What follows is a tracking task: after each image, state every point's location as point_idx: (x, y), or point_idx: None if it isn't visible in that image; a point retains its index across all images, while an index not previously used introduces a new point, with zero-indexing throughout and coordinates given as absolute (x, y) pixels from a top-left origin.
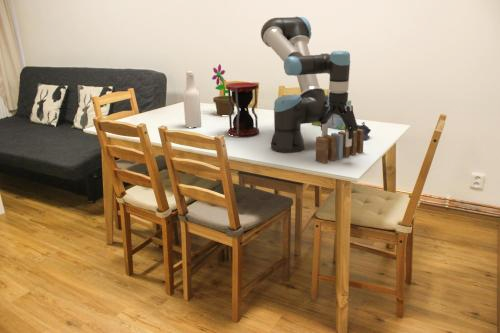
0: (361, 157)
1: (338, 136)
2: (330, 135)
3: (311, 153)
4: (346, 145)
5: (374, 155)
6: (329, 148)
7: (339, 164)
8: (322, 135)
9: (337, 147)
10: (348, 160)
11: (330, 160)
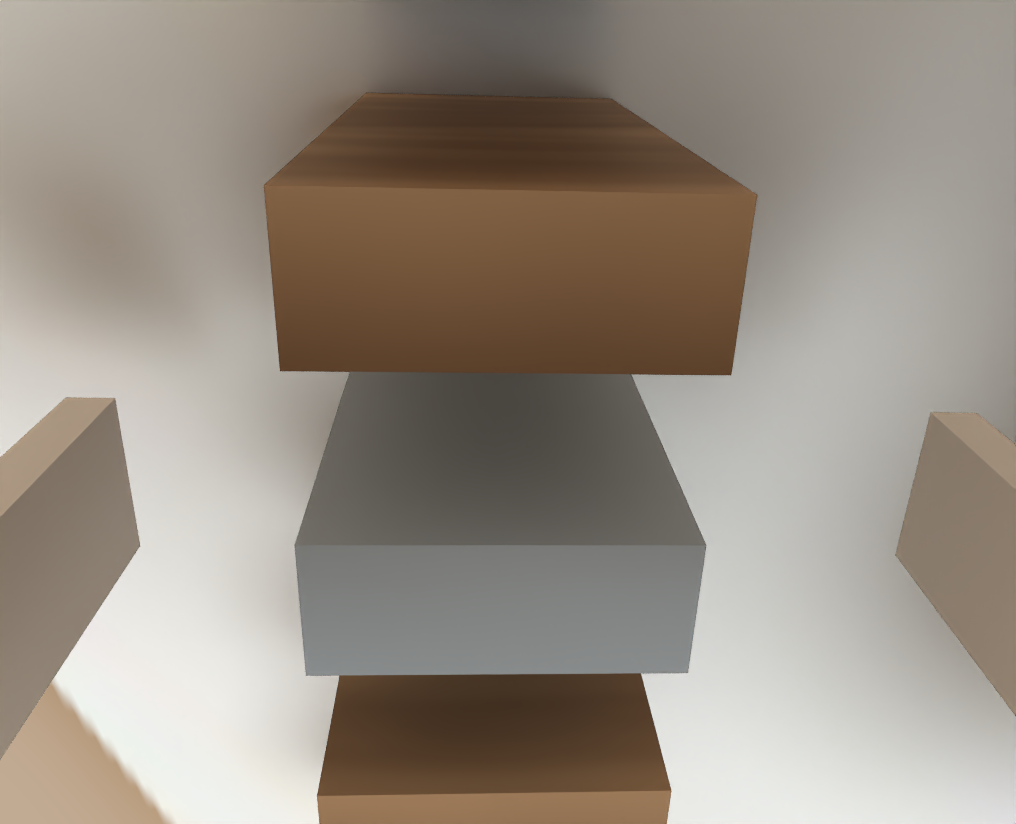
0: (227, 619)
1: (364, 528)
2: (551, 366)
3: (991, 172)
4: (58, 413)
5: (192, 791)
6: (426, 126)
7: (128, 69)
8: (1005, 462)
9: (408, 378)
10: (225, 372)
11: (397, 94)
